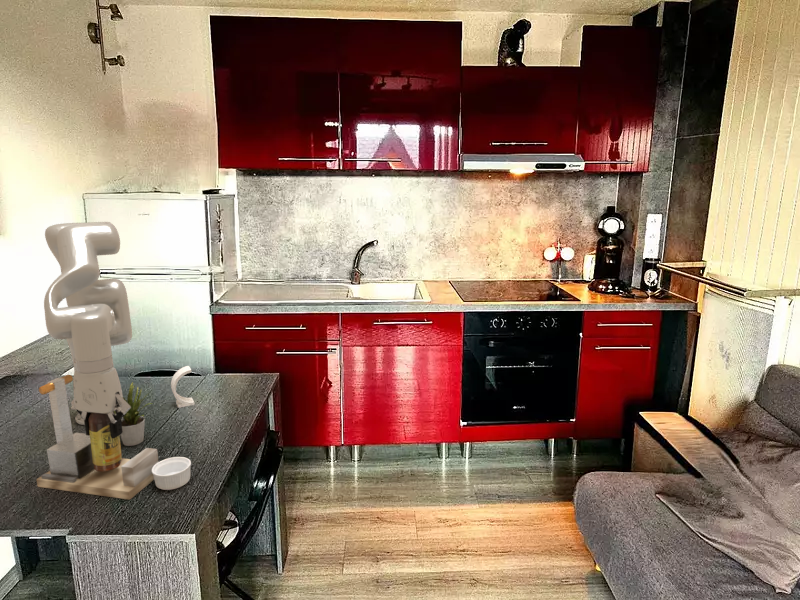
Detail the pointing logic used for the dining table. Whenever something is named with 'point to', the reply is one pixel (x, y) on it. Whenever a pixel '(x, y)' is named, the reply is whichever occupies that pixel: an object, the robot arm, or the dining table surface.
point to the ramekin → (171, 473)
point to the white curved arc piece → (180, 400)
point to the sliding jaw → (66, 435)
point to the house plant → (133, 420)
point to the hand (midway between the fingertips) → (104, 433)
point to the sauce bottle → (103, 443)
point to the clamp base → (109, 478)
